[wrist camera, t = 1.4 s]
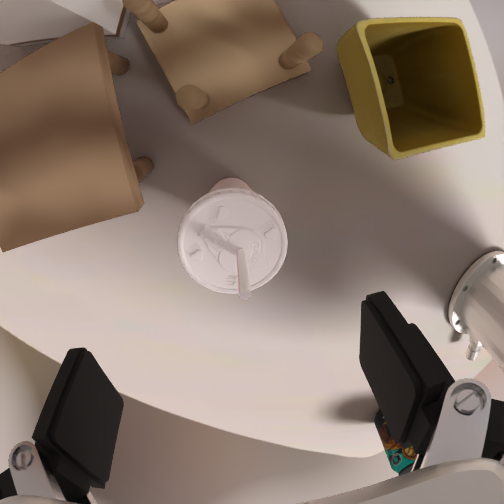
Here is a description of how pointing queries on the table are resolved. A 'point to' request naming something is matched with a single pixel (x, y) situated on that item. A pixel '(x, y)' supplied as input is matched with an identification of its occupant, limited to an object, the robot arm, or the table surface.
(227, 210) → the smoothie
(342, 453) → the table surface
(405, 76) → the flower pot
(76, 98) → the stool
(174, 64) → the upturned stool
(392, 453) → the beverage can
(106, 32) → the display case
